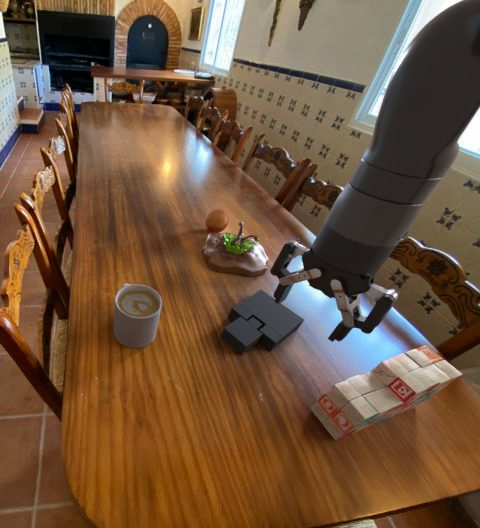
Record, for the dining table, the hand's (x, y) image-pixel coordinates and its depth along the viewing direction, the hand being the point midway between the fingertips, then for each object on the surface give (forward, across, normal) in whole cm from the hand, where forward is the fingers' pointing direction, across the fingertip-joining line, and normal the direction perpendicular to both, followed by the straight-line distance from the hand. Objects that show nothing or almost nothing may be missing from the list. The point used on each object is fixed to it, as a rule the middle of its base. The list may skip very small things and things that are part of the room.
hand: (304, 318), depth 45 cm
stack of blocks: (+23, +13, +15) cm, 31 cm away
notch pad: (+22, -10, +16) cm, 29 cm away
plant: (+22, -33, +32) cm, 51 cm away
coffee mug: (+22, -27, -11) cm, 36 cm away
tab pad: (+22, -10, +8) cm, 26 cm away
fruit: (+21, -46, +38) cm, 63 cm away
